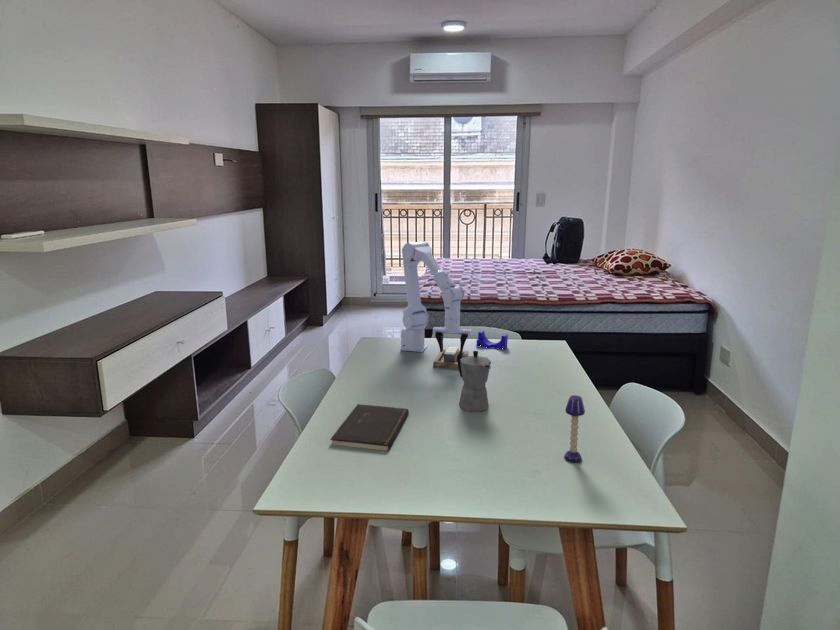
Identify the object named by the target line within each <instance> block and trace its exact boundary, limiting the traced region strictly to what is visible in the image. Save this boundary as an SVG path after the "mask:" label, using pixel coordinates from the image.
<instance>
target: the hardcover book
mask: <svg viewBox="0 0 840 630" xmlns="http://www.w3.org/2000/svg"><path fill="white" fill-rule="evenodd" d="M409 414H410V413H409V409H408V408H403V407H394V406H393V407H392V406H383V405H382V406H379V405H372V404H370V405H369V404H362V403H358V404H356V406H355V407H354V408H353V409H352V411H351V412H350V413H349V415H348V416H347V417H346V418H345V420H343V422H342V424H340V426H339V427H338V429H337V430H336V431H335V432H334V434H333V435H332V436H331V438H330V441H331V445H332V446H341V447H342V446H343V447H351V448H359V449H367V450H368V449H369V450H377V451H387V452H389V451H390V449H391V448H392V446H393V444H394V443H395V441H396V439H397V437H398V435H399V433H400V431H401V429H402V427H403V425H404V424H405V421H406V420H407V418H408V416H409Z"/></svg>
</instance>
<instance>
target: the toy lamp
mask: <svg viewBox="0 0 840 630" xmlns="http://www.w3.org/2000/svg"><path fill="white" fill-rule="evenodd" d="M585 411H586V410H585V406H584V401H583V398H582V396H581V395H576V394H574V395H571V396H569V398H568V401H567V403H566V406H565V411H564V412H565V413H566V415H567V414H568V415H569V416H571V420H570V423H571V424H570V429H571V430H570V435H569V436H570V437H569V438H570V442H569V445H570V447H569V450H567V451H566V452H565V453H564V457H563V458H564V460H565V461H567V462H569V463H574V464H577V463H580V462H582V454H581V453H580V452H579V451H578V433H579V432H578V431H579V430H578V429H579V417H580V416H583V415H585V414H586V412H585Z"/></svg>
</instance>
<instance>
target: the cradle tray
mask: <svg viewBox="0 0 840 630" xmlns="http://www.w3.org/2000/svg"><path fill="white" fill-rule="evenodd" d="M446 350H447V348H446V349H444V348H443V351H442V352H440V351H439V352H438V354H437V355H436V357H435V359H434V360H433V363H432V366H433V368H439V369H440V368H442V369H452V370H459V368H458V362H457V360H456V362H444V353H445V351H446ZM459 353H460V350H459ZM459 353H458V354H459ZM462 353H464V354H468V355H469V351H468V350H463V352H462Z"/></svg>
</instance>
